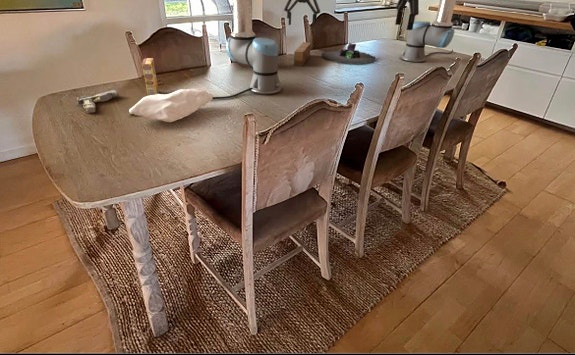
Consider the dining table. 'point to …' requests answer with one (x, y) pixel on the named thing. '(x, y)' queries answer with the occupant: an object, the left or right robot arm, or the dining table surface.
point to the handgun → (95, 100)
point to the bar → (302, 54)
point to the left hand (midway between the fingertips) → (301, 25)
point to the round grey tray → (348, 55)
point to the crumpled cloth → (171, 104)
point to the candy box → (150, 76)
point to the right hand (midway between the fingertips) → (403, 27)
